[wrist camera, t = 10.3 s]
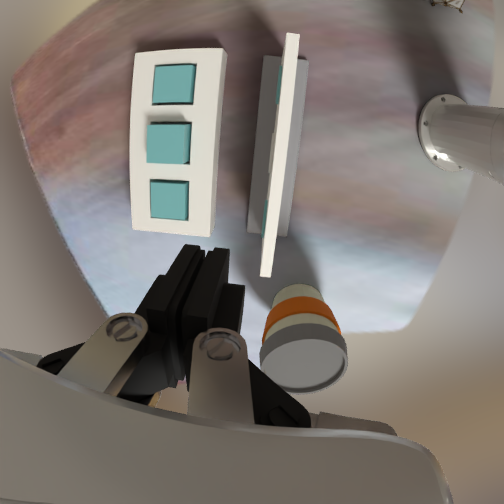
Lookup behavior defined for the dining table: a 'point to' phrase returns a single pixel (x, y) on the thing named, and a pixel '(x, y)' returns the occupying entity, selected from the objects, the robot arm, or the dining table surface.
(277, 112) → the pattern sign
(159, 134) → the button
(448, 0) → the grey geometric polyhedron ornament
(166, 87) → the button
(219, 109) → the button board
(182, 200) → the button
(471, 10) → the dining table surface
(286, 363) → the reusable coffee cup
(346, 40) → the dining table surface
